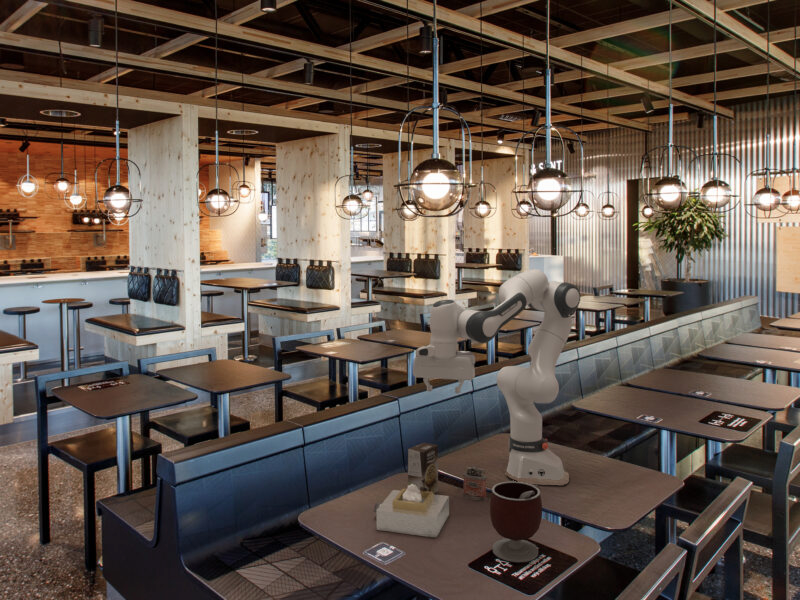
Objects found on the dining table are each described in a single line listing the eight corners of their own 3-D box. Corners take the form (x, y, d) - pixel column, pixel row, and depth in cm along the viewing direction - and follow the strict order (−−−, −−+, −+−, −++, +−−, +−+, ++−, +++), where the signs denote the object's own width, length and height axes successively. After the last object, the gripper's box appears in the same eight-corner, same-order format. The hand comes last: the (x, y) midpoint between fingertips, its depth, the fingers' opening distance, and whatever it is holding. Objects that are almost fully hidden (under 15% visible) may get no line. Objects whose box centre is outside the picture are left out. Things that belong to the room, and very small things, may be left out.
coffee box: (423, 500, 209) (423, 452, 208) (407, 495, 213) (407, 448, 212) (438, 491, 216) (438, 445, 215) (423, 487, 220) (423, 441, 219)
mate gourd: (480, 544, 179) (480, 474, 177) (523, 535, 184) (524, 468, 182) (508, 570, 164) (509, 495, 162) (555, 561, 169) (556, 487, 167)
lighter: (461, 496, 212) (461, 467, 211) (465, 493, 215) (465, 464, 214) (484, 501, 208) (484, 471, 207) (487, 497, 211) (488, 468, 210)
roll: (415, 478, 196) (425, 484, 191) (415, 516, 197) (425, 522, 193) (398, 482, 193) (408, 488, 188) (398, 520, 194) (408, 527, 189)
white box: (448, 514, 198) (448, 489, 197) (436, 537, 183) (436, 510, 182) (384, 507, 204) (384, 482, 203) (367, 528, 189) (366, 502, 188)
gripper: (477, 349, 208) (476, 391, 209) (416, 347, 214) (416, 387, 215) (473, 353, 202) (473, 396, 203) (411, 350, 208) (411, 392, 209)
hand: (443, 391), depth 209 cm, fingers open, 8 cm apart
